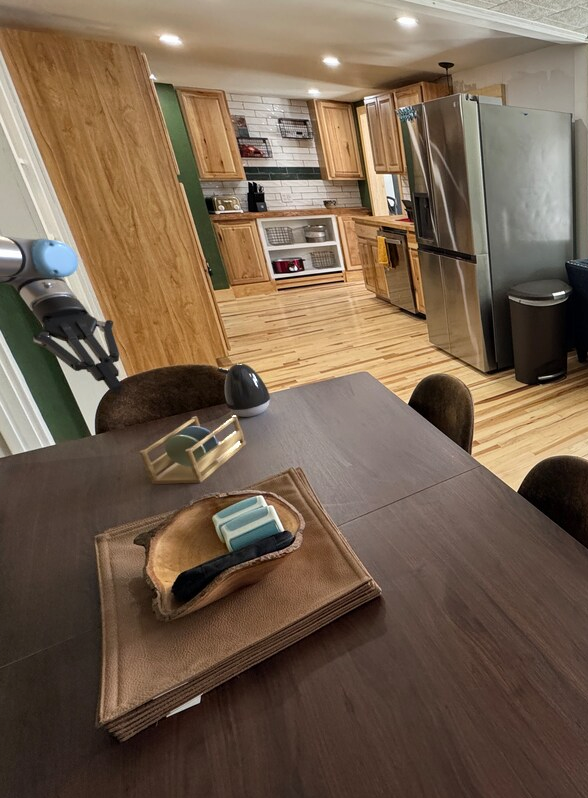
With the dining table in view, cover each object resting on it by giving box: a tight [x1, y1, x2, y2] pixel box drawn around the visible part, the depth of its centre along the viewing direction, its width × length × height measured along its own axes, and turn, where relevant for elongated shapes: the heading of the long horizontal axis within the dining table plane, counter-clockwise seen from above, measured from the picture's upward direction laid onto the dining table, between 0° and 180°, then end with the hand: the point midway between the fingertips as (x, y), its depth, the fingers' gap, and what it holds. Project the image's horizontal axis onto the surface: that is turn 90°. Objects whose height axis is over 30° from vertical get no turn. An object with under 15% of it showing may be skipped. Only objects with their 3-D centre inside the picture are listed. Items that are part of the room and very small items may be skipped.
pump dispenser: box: [216, 363, 271, 418], centre depth 134 cm, size 10×10×15 cm
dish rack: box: [139, 414, 247, 485], centre depth 109 cm, size 16×10×9 cm, turn 4°
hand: (117, 389), depth 103 cm, fingers closed
